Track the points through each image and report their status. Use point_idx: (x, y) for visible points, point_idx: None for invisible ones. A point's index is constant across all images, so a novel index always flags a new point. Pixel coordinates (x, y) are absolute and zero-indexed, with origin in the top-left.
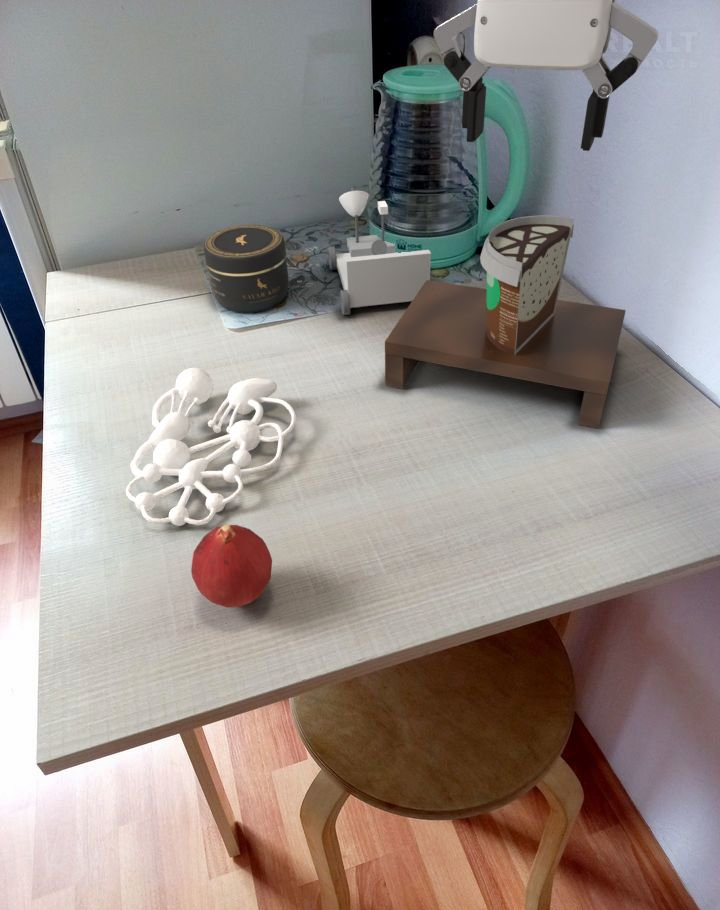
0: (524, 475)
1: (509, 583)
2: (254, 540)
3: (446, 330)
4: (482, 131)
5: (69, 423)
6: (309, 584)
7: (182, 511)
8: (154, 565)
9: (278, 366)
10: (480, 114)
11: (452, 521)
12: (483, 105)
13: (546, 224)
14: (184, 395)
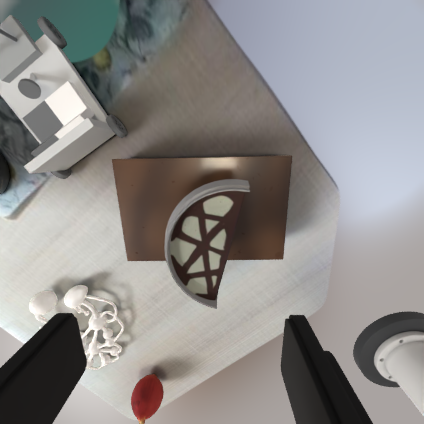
0: (239, 288)
1: (245, 343)
2: (151, 406)
3: (162, 234)
4: (75, 321)
5: (7, 323)
6: (173, 363)
7: (107, 363)
8: (114, 373)
9: (68, 246)
10: (49, 385)
11: (214, 323)
12: (30, 382)
13: (217, 192)
14: None
